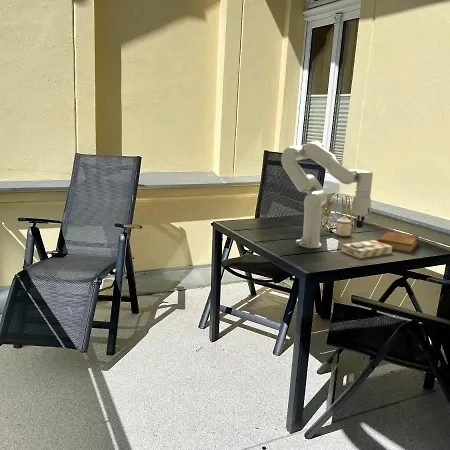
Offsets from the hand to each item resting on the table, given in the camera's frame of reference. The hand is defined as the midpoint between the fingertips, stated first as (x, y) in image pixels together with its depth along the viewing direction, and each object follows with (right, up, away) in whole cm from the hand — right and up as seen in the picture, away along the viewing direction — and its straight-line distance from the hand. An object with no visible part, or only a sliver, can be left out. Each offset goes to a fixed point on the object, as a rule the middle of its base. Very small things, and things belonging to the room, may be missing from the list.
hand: (359, 227), depth 240 cm
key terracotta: (+13, -12, +10) cm, 20 cm away
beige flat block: (+6, -14, +7) cm, 17 cm away
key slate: (0, -12, +3) cm, 12 cm away
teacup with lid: (+2, -5, +43) cm, 44 cm away
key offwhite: (+6, -11, +6) cm, 14 cm away
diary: (+29, -12, +22) cm, 39 cm away
